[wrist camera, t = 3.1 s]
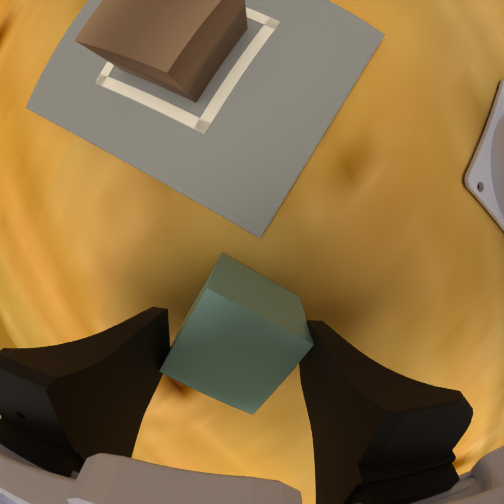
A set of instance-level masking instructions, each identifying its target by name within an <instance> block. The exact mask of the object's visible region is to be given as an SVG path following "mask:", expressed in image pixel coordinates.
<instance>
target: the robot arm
mask: <svg viewBox="0 0 504 504" xmlns="http://www.w3.org/2000/svg"><path fill="white" fill-rule="evenodd" d="M478 183H479V190H478V189H477V185H478ZM465 185H466V187H467V188H468V190H469V191H470V192H471V193H472V194H473V195H474V196H475V197H476V198H477V200H478V201H479V202H480V203H481V204H482V205H483V207H484V208H485V209H486V210H487V211H488V213H489V214H490V215H491V216H492V217H493V219H494V220H495V221H496V222H497V224H498V225H499V226H500V228H501V229H502V230H503V231H504V79H503V80H501V82H500V85H499V89H498V92H497V95H496V98H495V101H494V104H493V107H492V110H491V113H490V116H489V119H488V122H487V124H486V127H485V130H484V132H483V135H482V137H481V140H480V142H479V145H478V147H477V149H476V152H475V154H474V157H473V159H472V161H471V163H470V166H469V168H468V170H467V172H466V174H465ZM307 325H308V328H309V332H310V335H311V338H312V340H313V343H314V345H313V346H312V347H311V349H310V350H309V351H308V352H307V354H306V355H305V356H304V357H303V358H302V360H301V361H300V362H299V366H300V378H301V385H302V390H303V394H304V399H305V403H306V407H307V411H308V416H309V420H310V424H311V430H312V437H313V447H314V460H315V480H316V504H504V446H502V447H500V448H498V449H496V450H494V451H492V452H490V453H488V454H486V455H484V456H483V457H482V458H481V459H480V460H479V461H478V462H477V463H476V464H475V465H474V466H473V468H472V469H471V471H469V472H466V473H464V474H462V475H459V476H458V474H457V472H456V470H455V468H454V466H453V464H452V462H454V461H455V459H456V456H455V455H454V453H453V451H452V450H453V448H454V447H455V446H456V444H457V443H458V442H459V440H460V439H461V437H462V436H463V435H464V433H465V432H466V430H467V428H468V427H469V425H470V423H471V419H472V416H473V408H472V407H471V406H470V404H469V403H468V401H467V400H466V399H465V397H464V396H463V395H462V393H461V392H460V391H457V390H452V389H446V388H441V387H436V386H432V385H429V384H426V383H422V382H419V381H416V380H413V379H410V378H408V377H405V376H403V375H401V374H398V373H396V372H394V371H392V370H390V369H388V368H386V367H384V366H382V365H381V364H379V363H377V362H375V361H374V360H372V359H370V358H369V357H367V356H366V355H364V354H363V353H362V352H360V351H359V350H357V349H356V348H355V347H353V346H352V345H351V344H350V343H348V342H347V341H346V340H345V339H343V338H342V337H341V336H340V335H339V334H337V333H336V332H335V331H334V330H333V329H332V328H330V327H329V326H328V325H327V324H326V323H324V322H323V321H311V320H307ZM169 350H170V338H169V322H168V309H165V308H157V307H152V308H150V309H147V310H145V311H143V312H141V313H139V314H137V315H136V316H134V317H132V318H130V319H128V320H126V321H124V322H122V323H120V324H118V325H116V326H113V327H111V328H109V329H107V330H105V331H102V332H100V333H98V334H95V335H92V336H89V337H86V338H83V339H80V340H77V341H72V342H68V343H64V344H59V345H54V346H47V347H38V348H15V349H14V348H3V349H2V350H1V351H0V415H1V419H0V504H302V498H301V493H300V491H299V490H297V489H295V488H293V487H290V486H288V485H286V484H284V483H282V482H280V481H277V480H270V479H263V478H256V477H246V476H232V475H221V474H212V473H204V472H197V471H190V470H184V469H178V468H173V467H168V466H163V465H158V464H153V463H149V462H145V461H141V460H137V459H133V458H131V457H132V453H133V449H134V446H135V442H136V438H137V435H138V432H139V428H140V425H141V422H142V419H143V416H144V414H145V411H146V409H147V407H148V405H149V403H150V400H151V398H152V396H153V394H154V392H155V390H156V388H157V386H158V384H159V382H160V379H161V377H162V375H163V373H162V372H160V369H161V367H162V365H163V363H164V360H165V358H166V356H167V354H168V352H169Z"/></svg>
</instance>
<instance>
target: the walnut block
mask: <svg viewBox="0 0 504 504" xmlns="http://www.w3.org/2000/svg"><path fill="white" fill-rule="evenodd" d="M247 29H248V27H247V16H246V5H245V0H103V1H102V2H101V3H100V4H99V6H98V7H97V8H96V10H95V11H94V12H93V14H92V15H91V17H90V18H89V19H88V21H87V22H86V24H85V25H84V27H83V28H82V29H81V31H80V32H79V34H78V36H77V37H76V39H75V40H74V41H76V42H78V43H79V44H81V45H83V46H84V47H86V48H87V49H89V50H91V51H92V52H94V53H96V54H97V55H99V56H100V57H102V58H104V59H105V60H107V61H108V62H110V63H111V64H113V65H114V66H116V67H117V68H119V69H121V70H122V71H125V72H127V73H130V74H132V75H135V76H137V77H140V78H142V79H144V80H147V81H149V82H152V83H154V84H156V85H159V86H161V87H163V88H165V89H168V90H170V91H172V92H174V93H176V94H179V95H181V96H183V97H185V98H187V99H189V100H191V101H193V102H195V103H197V101H198V99H199V98H200V96H201V95H202V93H203V92H204V90H205V88H206V87H207V85H208V84H209V82H210V81H211V79H212V78H213V76H214V75H215V73H216V72H217V70H218V69H219V67H220V66H221V65H222V63H223V62H224V60H225V59H226V57H227V56H228V55H229V53H230V52H231V50H232V49H233V48H234V46H235V45H236V44H237V42H238V41H239V40H240V38H241V37H242V36H243V34H244V33H245V32H246V30H247Z"/></svg>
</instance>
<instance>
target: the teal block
mask: <svg viewBox="0 0 504 504" xmlns="http://www.w3.org/2000/svg"><path fill="white" fill-rule="evenodd" d="M313 345H314V343H313V340H312V338H311V335H310V332H309V328H308V325H307V319H306V316H305V312H304V309H303V306H302V303H301V299H300V296H298V295H296V294H294V293H292V292H291V291H289V290H287V289H285V288H283V287H282V286H280V285H278V284H276V283H275V282H273V281H271V280H269V279H267V278H266V277H264V276H262V275H260V274H259V273H257V272H255V271H253V270H252V269H250V268H248V267H246V266H245V265H243V264H241V263H239V262H238V261H236V260H234V259H232V258H230V257H229V256H227V255H225V254H224V253H222V254H221V256H220V257H219V259H218V261H217V263H216V264H215V266H214V268H213V269H212V271H211V273H210V275H209V276H208V278H207V280H206V282H205V283H204V285H203V287H202V289H201V290H200V292H199V294H198V296H197V297H196V299H195V301H194V303H193V304H192V306H191V308H190V310H189V312H188V313H187V315H186V317H185V319H184V320H183V322H182V324H181V326H180V329H179V331H178V333H177V335H176V337H175V339H174V341H173V343H172V345H171V348H170V350H169V352H168V354H167V356H166V358H165V360H164V363H163V365H162V367H161V369H160V372H162V373H163V374H165V375H167V376H169V377H171V378H173V379H175V380H177V381H179V382H181V383H183V384H185V385H187V386H189V387H191V388H193V389H195V390H197V391H199V392H201V393H203V394H206V395H208V396H210V397H212V398H214V399H217V400H219V401H221V402H223V403H226V404H228V405H230V406H233V407H235V408H238V409H240V410H243V411H245V412H248V413H250V414H254V413H255V412H256V411H257V409H258V408H259V407H260V406H261V405H262V404H263V403H264V402H265V401H266V400H267V399H268V398H269V396H270V395H271V394H272V393H273V392H274V391H275V390H276V389H277V388H278V386H279V385H280V384H281V383H282V382H283V381H284V380H285V378H286V377H287V376H288V375H289V374H290V373H291V371H292V370H293V369H294V368H295V367H296V366H297V364H298V363H299V362H300V361H301V360H302V358H303V357H304V356H305V355H306V354H307V352H308V351H309V350H310V349H311V347H312V346H313Z"/></svg>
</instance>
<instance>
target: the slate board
mask: <svg viewBox="0 0 504 504" xmlns="http://www.w3.org/2000/svg"><path fill="white" fill-rule="evenodd" d="M102 1H103V0H88V2H87V3H86V4H85V6H84V7H83V8H82V10H81V11H80V12H79V14H78V15H77V17H76V18H75V19H74V21H73V22H72V24H71V25H70V27H69V28H68V30H67V31H66V33H65V34H64V36H63V38H62V39H61V41H60V42H59V44H58V46H57V47H56V49H55V51H54V53H53V54H52V56H51V58H50V60H49V61H48V63H47V65H46V67H45V69H44V71H43V73H42V75H41V76H40V78H39V80H38V82H37V85H36V87H35V89H34V91H33V93H32V95H31V97H30V99H29V102H28V104H27V106H26V108H27V109H29V110H31V111H32V112H34V113H36V114H38V115H40V116H42V117H44V118H46V119H48V120H49V121H51V122H53V123H55V124H57V125H59V126H61V127H62V128H64V129H66V130H68V131H70V132H72V133H74V134H75V135H77V136H79V137H81V138H83V139H85V140H86V141H88V142H90V143H92V144H94V145H96V146H97V147H99V148H101V149H103V150H105V151H107V152H108V153H110V154H112V155H114V156H116V157H117V158H119V159H121V160H123V161H125V162H127V163H128V164H130V165H132V166H134V167H136V168H137V169H139V170H141V171H143V172H145V173H146V174H148V175H150V176H152V177H153V178H155V179H157V180H159V181H161V182H162V183H164V184H166V185H168V186H169V187H171V188H173V189H175V190H177V191H178V192H180V193H182V194H184V195H185V196H187V197H189V198H191V199H192V200H194V201H196V202H198V203H199V204H201V205H203V206H205V207H206V208H208V209H210V210H212V211H213V212H215V213H217V214H219V215H220V216H222V217H224V218H226V219H227V220H229V221H231V222H233V223H234V224H236V225H238V226H239V227H241V228H243V229H245V230H246V231H248V232H250V233H252V234H253V235H255V236H257V237H258V238H261V236H262V234H263V233H264V231H265V229H266V228H267V226H268V225H269V223H270V221H271V220H272V218H273V216H274V215H275V213H276V211H277V210H278V208H279V207H280V205H281V203H282V202H283V200H284V198H285V197H286V195H287V194H288V192H289V190H290V189H291V187H292V185H293V184H294V182H295V180H296V179H297V177H298V176H299V174H300V172H301V171H302V169H303V167H304V166H305V164H306V163H307V161H308V159H309V158H310V156H311V154H312V153H313V151H314V149H315V148H316V146H317V145H318V143H319V141H320V140H321V138H322V136H323V135H324V133H325V132H326V130H327V128H328V127H329V125H330V123H331V122H332V120H333V119H334V117H335V115H336V114H337V112H338V110H339V109H340V107H341V105H342V104H343V102H344V101H345V99H346V97H347V96H348V94H349V92H350V91H351V89H352V88H353V86H354V84H355V83H356V81H357V79H358V78H359V76H360V75H361V73H362V71H363V70H364V68H365V66H366V65H367V63H368V61H369V60H370V58H371V57H372V55H373V53H374V52H375V50H376V48H377V47H378V45H379V44H380V42H381V40H382V39H383V37H384V35H385V34H383V33H382V32H380V31H379V30H377V29H376V28H374V27H373V26H371V25H370V24H368V23H366V22H365V21H363V20H362V19H360V18H358V17H357V16H355V15H353V14H352V13H350V12H348V11H347V10H345V9H343V8H341V7H340V6H338V5H336V4H334V3H332V2H330V1H328V0H245V5H246V16H247V27H248V29H247V30H246V32H245V33H244V34H243V36H242V37H241V38H240V40H239V41H238V42H237V44H236V45H235V46H234V48H233V49H232V50H231V52H230V53H229V55H228V56H227V57H226V59H225V60H224V62H223V63H222V65H221V66H220V67H219V69H218V70H217V72H216V73H215V75H214V76H213V78H212V79H211V81H210V82H209V84H208V85H207V87H206V88H205V90H204V92H203V93H202V95H201V96H200V98H199V99H198V101H197V103H195V102H193V101H191V100H189V99H187V98H185V97H183V96H181V95H179V94H176V93H174V92H172V91H170V90H168V89H165V88H163V87H161V86H159V85H156V84H154V83H152V82H149V81H147V80H144V79H142V78H140V77H137V76H135V75H132V74H130V73H127V72H125V71H122V70H121V69H119V68H117V67H116V66H114V65H113V64H111V63H110V62H108V61H107V60H105V59H104V58H102V57H100V56H99V55H97V54H96V53H94V52H92V51H91V50H89V49H87V48H86V47H84V46H83V45H81V44H79V43H78V42H76V41H74V40H75V39H76V37H77V36H78V34H79V32H80V31H81V29H82V28H83V27H84V25H85V24H86V22H87V21H88V19H89V18H90V17H91V15H92V14H93V12H94V11H95V10H96V8H97V7H98V6H99V4H100V3H101V2H102Z"/></svg>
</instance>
